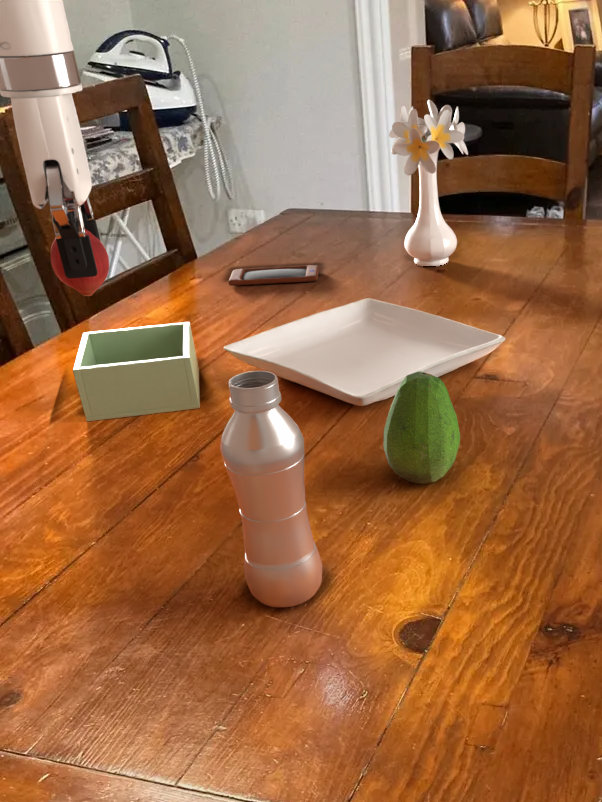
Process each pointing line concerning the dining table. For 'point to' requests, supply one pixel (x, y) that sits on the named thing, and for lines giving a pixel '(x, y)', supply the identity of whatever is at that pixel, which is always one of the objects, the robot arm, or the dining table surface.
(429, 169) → the flower vase
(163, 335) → the veg bin
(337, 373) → the square plate
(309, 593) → the plastic bottle
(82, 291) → the onion
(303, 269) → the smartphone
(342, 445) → the dining table surface
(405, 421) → the avocado
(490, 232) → the dining table surface
